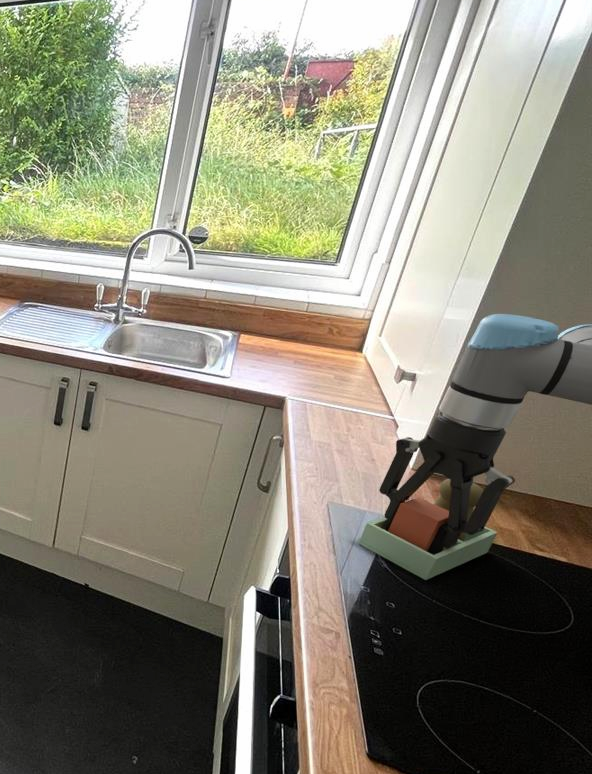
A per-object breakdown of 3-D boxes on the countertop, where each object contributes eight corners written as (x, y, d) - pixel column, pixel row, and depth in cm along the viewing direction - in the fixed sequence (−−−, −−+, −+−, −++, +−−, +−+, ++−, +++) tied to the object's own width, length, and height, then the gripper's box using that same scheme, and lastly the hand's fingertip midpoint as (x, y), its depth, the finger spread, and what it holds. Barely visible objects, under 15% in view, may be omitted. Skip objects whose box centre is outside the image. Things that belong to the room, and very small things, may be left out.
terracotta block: (435, 555, 93) (456, 514, 90) (417, 563, 91) (438, 521, 88) (399, 537, 97) (418, 496, 94) (381, 544, 95) (400, 503, 92)
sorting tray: (419, 520, 103) (428, 500, 101) (487, 552, 95) (498, 532, 94) (357, 543, 96) (366, 522, 95) (425, 580, 88) (436, 558, 87)
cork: (413, 538, 97) (440, 482, 93) (415, 523, 101) (440, 468, 97) (462, 555, 93) (493, 498, 89) (462, 539, 97) (491, 483, 93)
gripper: (570, 444, 79) (493, 579, 88) (413, 392, 94) (361, 512, 103) (543, 453, 76) (466, 592, 85) (386, 399, 91) (335, 521, 100)
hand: (409, 548), depth 94 cm, fingers closed on terracotta block, 5 cm apart
